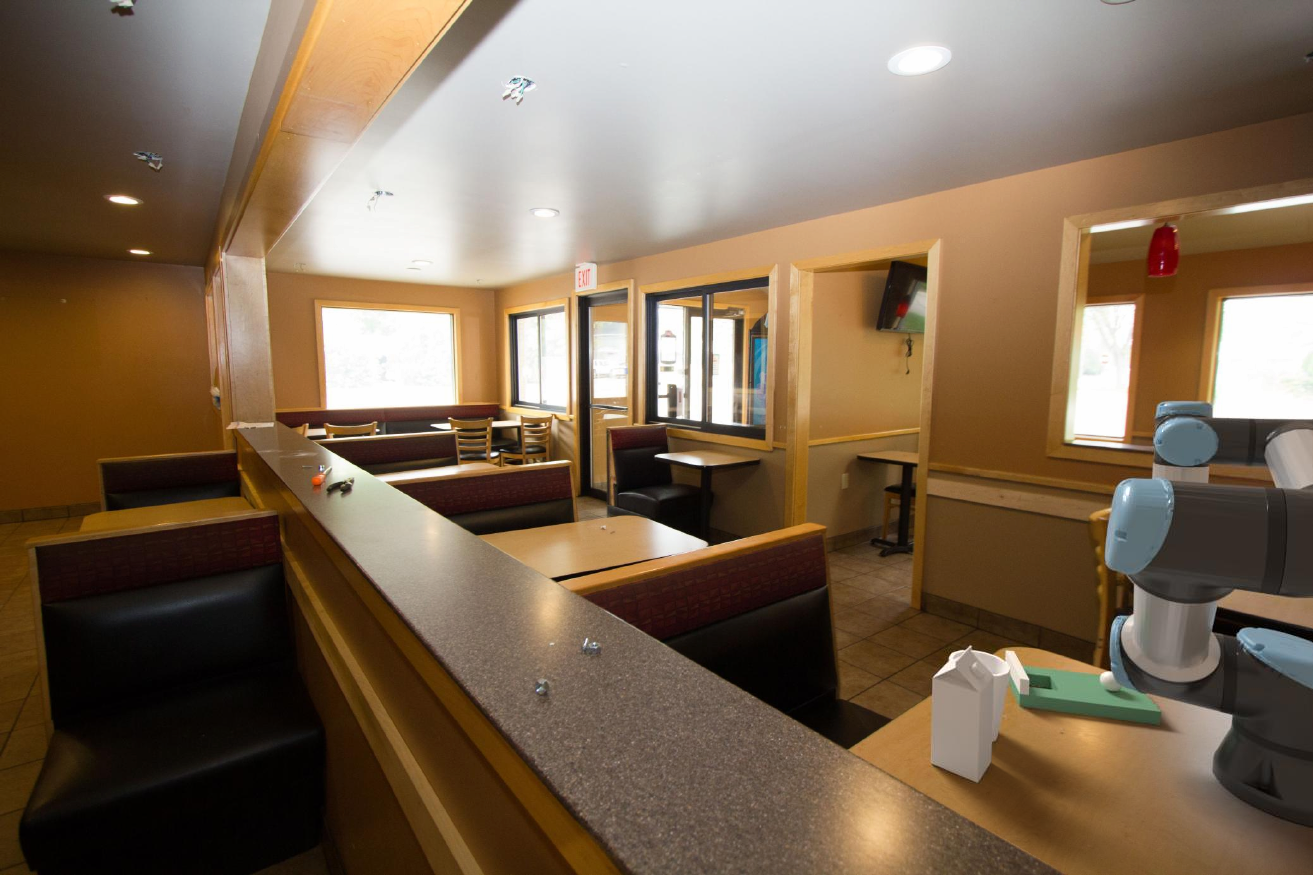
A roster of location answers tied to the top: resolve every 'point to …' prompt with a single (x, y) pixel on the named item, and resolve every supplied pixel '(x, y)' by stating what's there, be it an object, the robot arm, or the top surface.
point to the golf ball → (1109, 682)
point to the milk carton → (962, 717)
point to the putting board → (1077, 694)
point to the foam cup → (1000, 683)
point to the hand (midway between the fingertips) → (1170, 612)
